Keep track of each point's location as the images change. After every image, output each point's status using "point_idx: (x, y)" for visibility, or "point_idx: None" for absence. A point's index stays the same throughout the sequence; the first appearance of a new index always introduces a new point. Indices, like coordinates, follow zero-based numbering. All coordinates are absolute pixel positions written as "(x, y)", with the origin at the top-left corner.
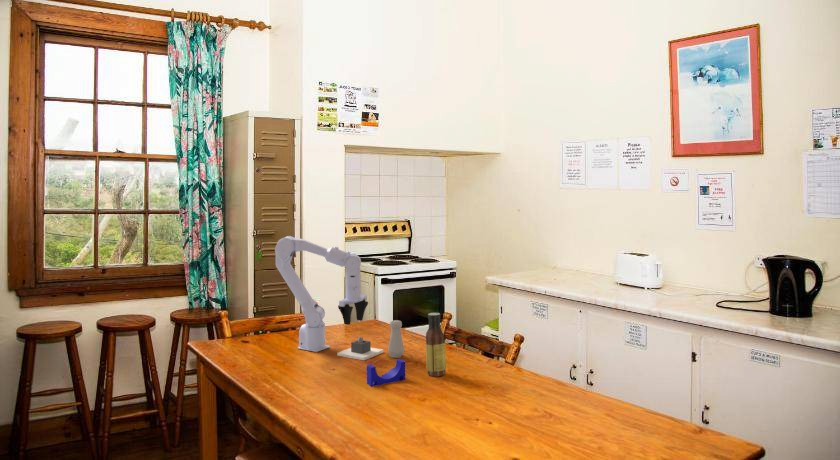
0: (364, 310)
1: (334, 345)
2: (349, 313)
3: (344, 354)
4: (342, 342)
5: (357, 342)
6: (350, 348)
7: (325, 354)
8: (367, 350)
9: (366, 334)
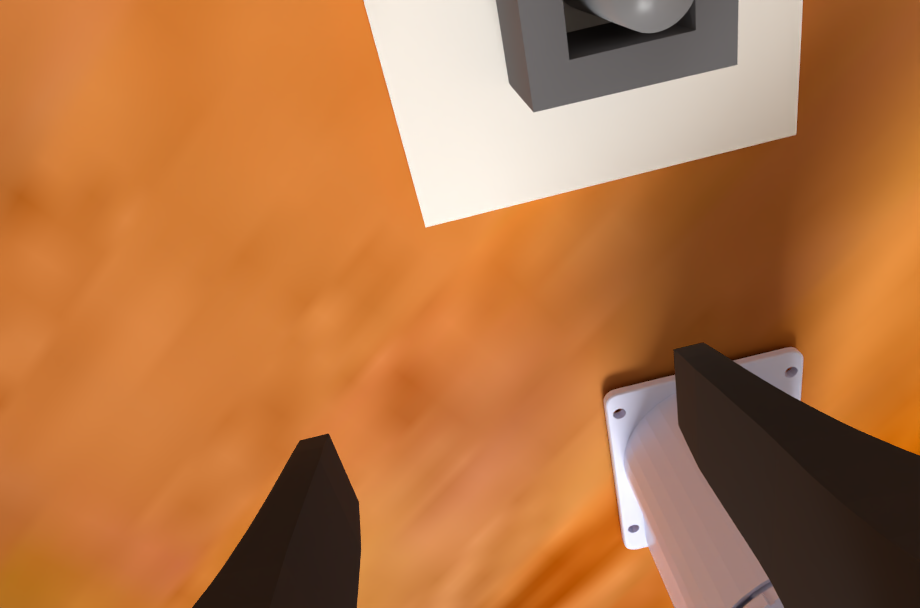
0: (215, 596)
1: (526, 419)
2: (899, 463)
3: (798, 21)
4: (407, 450)
5: (630, 40)
6: (576, 172)
7: (801, 243)
8: None
9: (51, 526)
